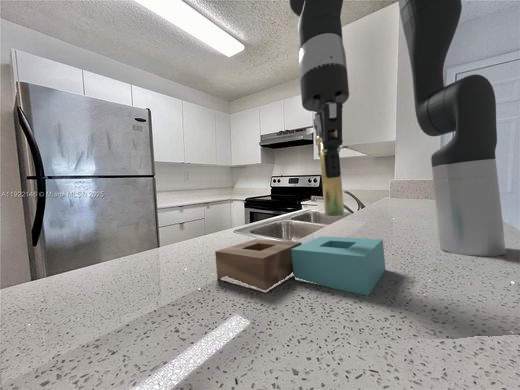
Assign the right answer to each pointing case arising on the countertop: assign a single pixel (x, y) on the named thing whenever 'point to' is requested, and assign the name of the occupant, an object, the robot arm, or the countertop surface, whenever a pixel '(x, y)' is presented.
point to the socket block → (340, 263)
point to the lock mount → (256, 262)
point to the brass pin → (331, 189)
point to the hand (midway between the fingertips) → (331, 178)
